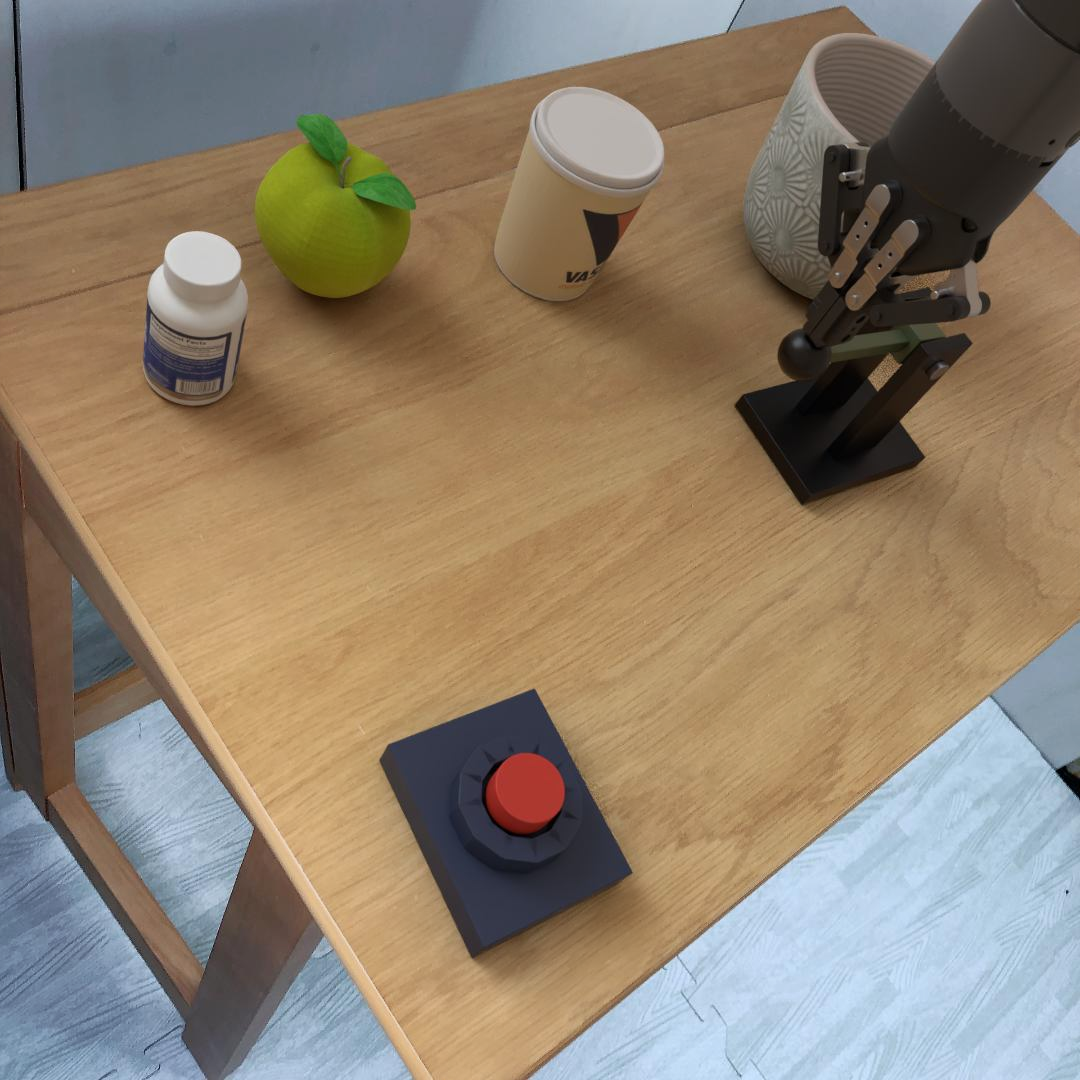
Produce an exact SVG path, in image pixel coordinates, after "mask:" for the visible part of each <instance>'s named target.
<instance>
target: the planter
mask: <svg viewBox="0 0 1080 1080" xmlns="http://www.w3.org/2000/svg"><path fill="white" fill-rule="evenodd" d="M936 61H937V60H934V59H932V57H929V56H928V55H926V54H924V53H922V52H921V51H919V50H916V49H914V48H912V47H910V46H907V45H905V44H902V43H900V42H898V41H895V40H892V39H889V38H886V37H882V36H877V35H873V34H868V33H857V32H844V33H837V34H832V35H829V36H826V37H824V38H822V39H821V40H819V41H818V42H816V43H815V44H813V46H812V47H811V49H810V50H809V51H808V53H807V55H806V58H805V59H804V61H803V64H802V65H801V67H800V69H799V71H798V73H797V76H796V78H795V79H794V81H793V84H792V85H791V87H790V90H789V91H788V93H787V95H786V97H785V99H784V101H783V104H782V106H781V108H780V109H779V111H778V114H777V116H776V117H775V120H774V121H773V124H772V126H771V128H770V129H769V131H768V134H767V135H766V138H765V140H764V141H763V143H762V145H761V147H760V150H759V151H758V153H757V155H756V157H755V159H754V162H753V164H752V166H751V168H750V171H749V174H748V178H747V180H746V184H745V189H744V194H743V201H742V220H743V225H744V229H745V232H746V236H747V239H748V242H749V244H750V246H751V249H752V251H753V253H754V255H755V256H756V257H757V260H759V262H760V263H761V265H762V266H763V267H764V268H765V269H766V270H767V272H768V273H770V274H771V275H772V276H773V277H774V278H775V279H777V281H778V282H780V283H781V284H782V285H784V286H785V287H787V288H789V289H790V290H792V291H793V292H795V293H796V294H799V295H801V296H803V297H805V298H807V299H810V300H812V301H813V300H814V299H815V297H817V295H818V293H819V292H820V291H821V289H822V288H823V287H824V285H825V284H826V283H827V281H828V280H829V273H830V271H831V265H830V262H829V259H828V257H827V256H823V255H821V254H820V252H819V250H818V233H819V219H820V204H821V190H822V176H823V161H824V153H825V150H826V149H827V147H829V146H831V145H839V144H847V143H856V142H866V143H867V144H868V145H869V147H871V146H872V145H873V144H874V143H875V142H876V141H877V140H879V139H880V138H883V137H885V136H887V135H888V134H889V131H890V128H891V126H892V124H893V122H894V121H895V120H896V118H897V117H898V115H899V114H900V113H901V111H902V110H903V108H904V107H905V105H906V104H907V103H908V101H909V100H910V98H911V97H912V96H913V94H914V93H915V91H916V90H917V88H918V87H919V86H920V84H921V83H922V81H923V80H924V79H925V77H926V76H927V74H928V73H929V71H930V70H931V69H932V67H933V66H934V64H935V63H936ZM843 217H844V212H843V214H842V219H841V232H842V230H843Z"/></svg>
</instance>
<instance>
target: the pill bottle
mask: <svg viewBox="0 0 1080 1080" xmlns="http://www.w3.org/2000/svg"><path fill="white" fill-rule="evenodd" d="M242 264H243V263H242V257H241V255H240V253H239V250H237V248H236V247H235V246H234V245H233V243H231V242H229V240H227V239H225V238H224V237H221V236H220V235H217V234H214V233H211V232H206V231H200V230H199V231H196V230H194V231H187V232H183V233H180V234H178V235H177V236H174V237H173V238H172V239H170V241H169V242H168V243H167V245H166V247H165V250H164V256H163V263H161V265H159V266H158V267H157V268H156V269H155V270H154V271H153V273H152V275H151V277H150V279H149V282H148V287H147V294H146V309H145V310H146V312H145V324H144V325H145V326H144V338H143V339H144V340H143V353H142V370H143V374H144V377H145V379H146V381H147V383H148V385H149V386H150V387H151V388H152V389H153V390H154V392H156V393H157V394H158V395H160V396H161V398H164V399H165V400H168V401H170V402H172V403H176V404H179V405H183V406H191V407H195V406H204V405H209V404H212V403H215V402H217V401H219V400H220V399H222V398H223V397H224V396H226V394H228V392H229V391H230V390H231V389H232V387H233V386H234V383H235V380H236V377H237V373H238V367H239V361H240V355H241V349H242V344H243V337H244V333H245V326H246V322H247V321H246V320H247V315H248V310H249V294H248V290H247V287H246V285H245V283H244V281H243V280H242V278H241V274H242Z"/></svg>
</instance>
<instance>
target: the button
mask: <svg viewBox="0 0 1080 1080" xmlns="http://www.w3.org/2000/svg"><path fill="white" fill-rule="evenodd" d="M564 798H565V787H564V783H563V779H562V777H561V775H560V773H559V771H558V770H557V769H556V767H555V766H554V765H553V764H552V763H551V762H549V761H548V760H547V759H545V758H543V757H541V756H539V755H536V754H532V753H520V754H516V755H513V756H511V757H509V758H508V759H507V760H505V761H504V762H503V763H502V765H501V766H500V767H499V768H498V770H497V771H496V772H495V773H494V775H493V776H492V777H491V779H490V780H489V782H488V785H487V788H486V803H487V807H488V810H489V812H490V814H491V816H492V817H493V819H494V820H495V821H496V822H497V823H498V824H499V825H500V826H501V827H503V828H504V829H506V830H508V831H510V832H513V833H517V834H530V833H534V832H537V831H539V830H540V829H542V828H543V827H544V826H545V825H546V824H547V823H548V822H549V821H550V820H551V819H552V818H553V817H554V816H555V815H556V814H557V813H558V812H559V811H560V809H561V807H562V805H563V802H564Z"/></svg>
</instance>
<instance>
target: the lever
mask: <svg viewBox="0 0 1080 1080" xmlns="http://www.w3.org/2000/svg"><path fill="white" fill-rule="evenodd" d="M945 337H947V335H946V334H945V332H944V331H943V330H942V329H941V327H940V326H939V325H938V323H927V324H914V325H900V326H893V327H892V328H891V329H890V330H889V331H884V332H877V333H871V334H864V335H857V336H854V337H853V338H852V340H850V341H848V342H846V343H843V344H839V345H835V346H831V347H827V346H822V347H816V346H815V344H814V343H813V342H812V340H811V339H810V337H809V336H808V335H807V333H806V332H805V331H804V329H803V327H801V328H797V329H794V330H792V331H790V332H789V333H787V334H786V335H785V336H784V337H783V338H782V339H781V342H780V343H779V346H778V348H777V354H776V357H777V364H778V366H779V368H780V370H781V372H782V373H783V374H784V376H786V377H788V378H789V379H790V380H793V381H800V382H807V381H812V380H814V379H816V378H818V377H820V376H821V375H822V374H823V373H824V372H825V371H826V370H827V368H828V367H829V365H830V363H831V362H838V361H844V360H850V359H856V358H862V357H868V356H874V355H881V354H887V353H889V354H890V356H891V357H892V358H893V359H894V361H895V362H896V363H897V364H898V365H902V364H903V363H904V362H905V361H906V359H907V358H908V357H909V356H910V355H911V354H912V353H913V352H914V350H915V349H916V348H917V347H918V346H919V345H920V344H922V343H926V342H930V341H934V340H937V339H941V338H945Z"/></svg>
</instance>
